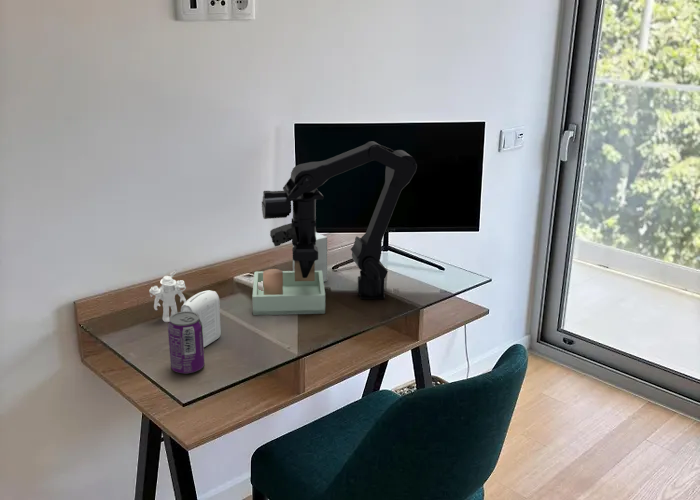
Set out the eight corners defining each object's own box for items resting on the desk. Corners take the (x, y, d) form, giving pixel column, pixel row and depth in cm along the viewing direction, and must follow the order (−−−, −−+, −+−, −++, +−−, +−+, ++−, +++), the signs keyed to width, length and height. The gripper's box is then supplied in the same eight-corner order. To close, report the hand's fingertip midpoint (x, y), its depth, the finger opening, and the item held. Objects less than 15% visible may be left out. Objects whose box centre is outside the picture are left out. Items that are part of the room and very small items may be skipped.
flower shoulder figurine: (184, 311, 183) (181, 266, 178) (191, 316, 180) (188, 272, 175) (149, 320, 178) (145, 274, 173) (156, 326, 175) (152, 280, 170)
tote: (321, 287, 198) (321, 270, 196) (325, 313, 183) (325, 295, 181) (255, 288, 196) (254, 271, 194) (252, 315, 181) (252, 296, 180)
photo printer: (209, 332, 173) (206, 284, 168) (223, 336, 171) (221, 288, 166) (180, 350, 164) (176, 300, 160) (195, 355, 162) (191, 304, 158)
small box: (327, 281, 202) (328, 236, 197) (309, 286, 198) (309, 241, 194) (310, 271, 208) (310, 228, 203) (292, 277, 204) (291, 233, 199)
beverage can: (210, 363, 159) (207, 313, 155) (193, 378, 153) (190, 327, 148) (182, 357, 161) (178, 308, 157) (164, 372, 155) (160, 321, 151)
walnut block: (294, 273, 190) (294, 255, 188) (313, 273, 190) (313, 255, 188) (294, 281, 185) (294, 263, 183) (314, 280, 186) (314, 262, 184)
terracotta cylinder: (263, 293, 191) (263, 269, 188) (283, 293, 191) (282, 268, 189) (263, 301, 186) (262, 276, 184) (283, 301, 187) (282, 276, 184)
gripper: (272, 204, 190) (273, 260, 195) (271, 228, 172) (272, 289, 178) (315, 204, 191) (315, 259, 196) (318, 228, 173) (318, 288, 179)
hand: (304, 273), depth 187 cm, fingers closed on walnut block, 5 cm apart
